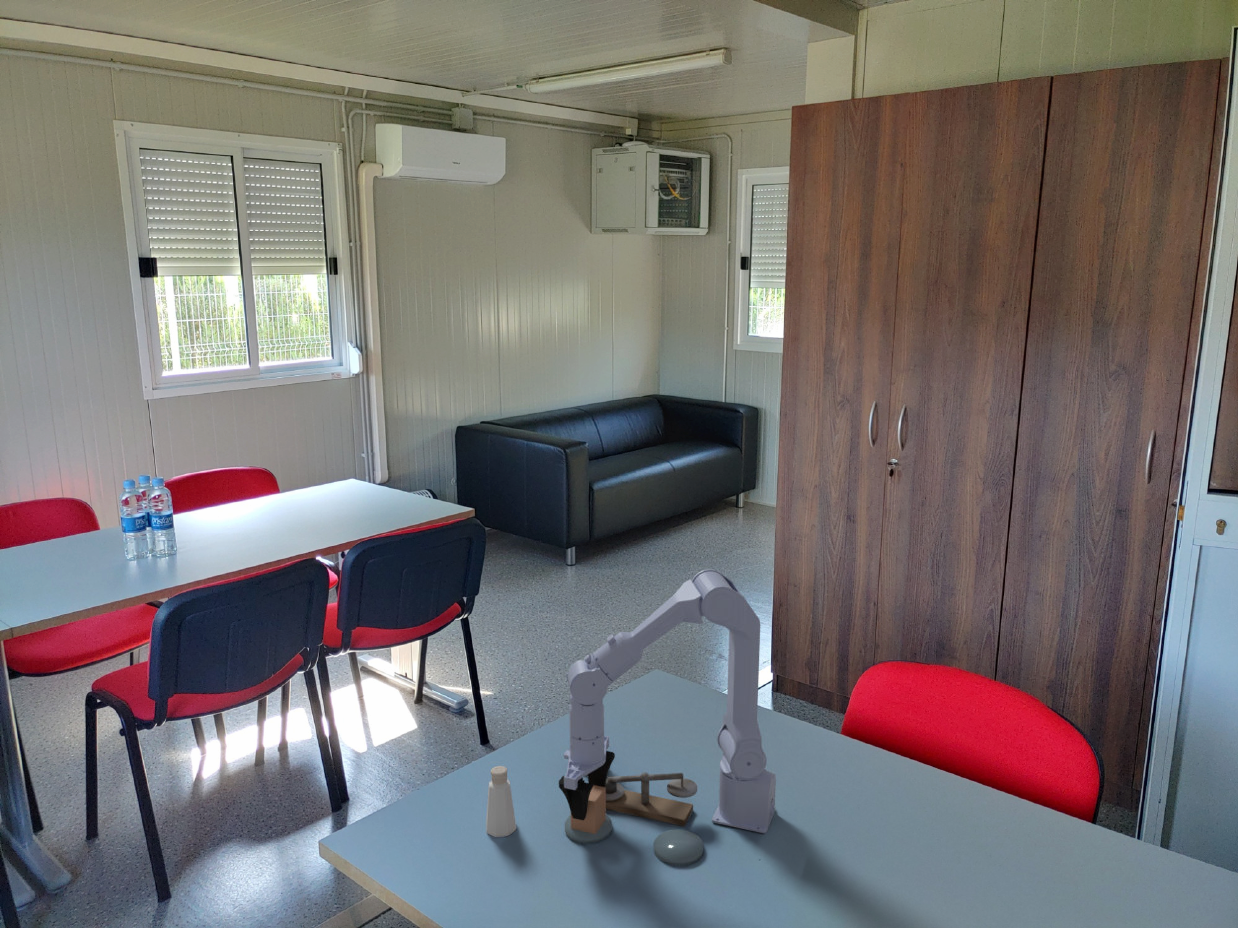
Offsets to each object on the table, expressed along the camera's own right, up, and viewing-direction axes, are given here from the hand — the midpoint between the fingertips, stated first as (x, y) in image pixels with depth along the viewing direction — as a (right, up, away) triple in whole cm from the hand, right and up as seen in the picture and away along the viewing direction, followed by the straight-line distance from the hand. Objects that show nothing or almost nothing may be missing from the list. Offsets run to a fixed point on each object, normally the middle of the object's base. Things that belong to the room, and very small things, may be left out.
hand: (588, 805), depth 156 cm
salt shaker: (-15, -5, +1) cm, 16 cm away
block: (0, -3, +1) cm, 3 cm away
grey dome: (0, -4, +1) cm, 4 cm away
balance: (+10, -3, +7) cm, 12 cm away
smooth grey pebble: (+15, -5, -5) cm, 17 cm away
